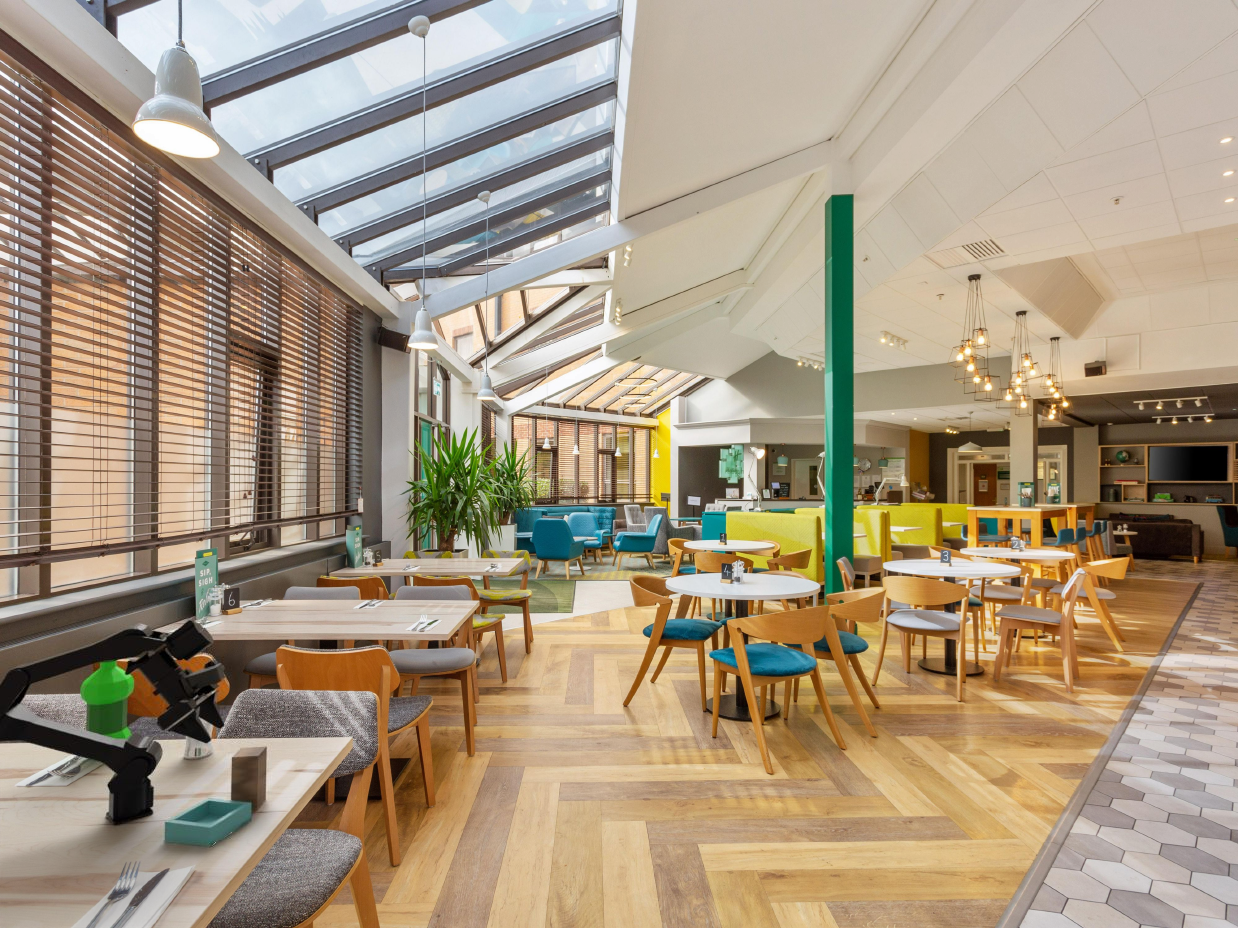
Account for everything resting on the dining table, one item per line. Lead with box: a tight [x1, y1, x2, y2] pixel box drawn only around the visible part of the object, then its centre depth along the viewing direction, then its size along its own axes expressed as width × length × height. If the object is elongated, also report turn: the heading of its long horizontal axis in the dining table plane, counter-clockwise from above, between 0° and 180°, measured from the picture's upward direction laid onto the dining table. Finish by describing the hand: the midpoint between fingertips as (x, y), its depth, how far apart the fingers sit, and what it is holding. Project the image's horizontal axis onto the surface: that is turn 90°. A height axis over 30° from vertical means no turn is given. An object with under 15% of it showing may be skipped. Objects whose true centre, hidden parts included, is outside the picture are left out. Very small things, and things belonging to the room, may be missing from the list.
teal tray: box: [163, 797, 252, 847], centre depth 129 cm, size 10×10×4 cm
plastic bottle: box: [79, 660, 135, 739], centre depth 165 cm, size 10×10×25 cm
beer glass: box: [183, 689, 216, 760], centre depth 166 cm, size 7×7×15 cm
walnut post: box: [230, 746, 268, 812], centre depth 139 cm, size 5×5×11 cm
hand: (216, 734), depth 140 cm, fingers open, 9 cm apart
